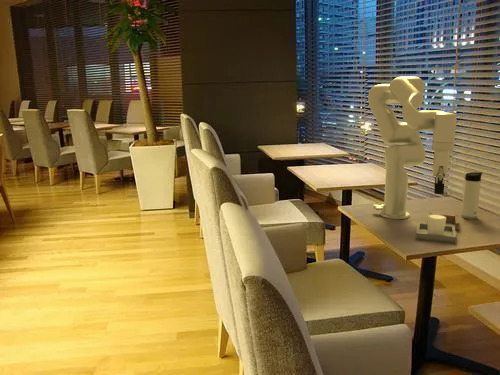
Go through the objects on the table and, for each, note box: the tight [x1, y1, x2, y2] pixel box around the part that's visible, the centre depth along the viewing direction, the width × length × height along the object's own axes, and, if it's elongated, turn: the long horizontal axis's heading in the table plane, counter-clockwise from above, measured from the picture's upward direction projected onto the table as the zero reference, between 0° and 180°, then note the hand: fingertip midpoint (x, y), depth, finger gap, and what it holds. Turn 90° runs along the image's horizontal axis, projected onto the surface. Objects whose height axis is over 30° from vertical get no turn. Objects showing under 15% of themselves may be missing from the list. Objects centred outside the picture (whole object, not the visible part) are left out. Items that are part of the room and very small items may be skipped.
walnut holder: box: [428, 212, 460, 231], centre depth 198 cm, size 11×12×3 cm
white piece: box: [426, 213, 447, 235], centre depth 184 cm, size 7×7×7 cm
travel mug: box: [461, 171, 483, 220], centre depth 206 cm, size 6×7×20 cm
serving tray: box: [415, 222, 457, 244], centre depth 185 cm, size 14×14×2 cm
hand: (438, 190), depth 181 cm, fingers open, 9 cm apart
